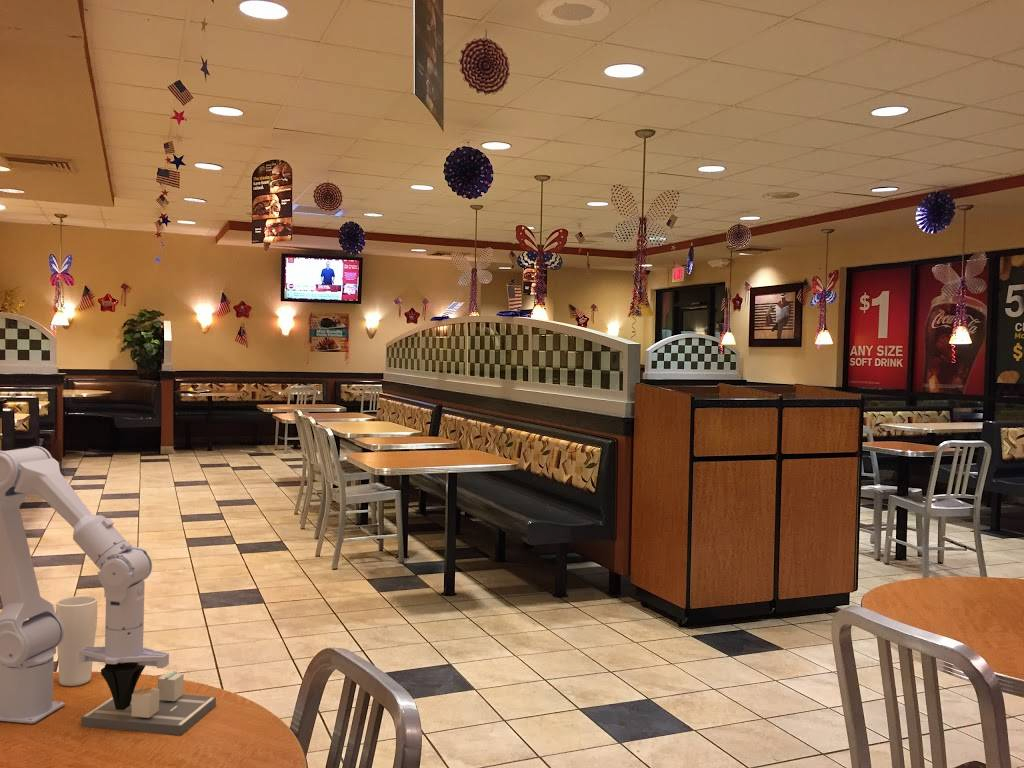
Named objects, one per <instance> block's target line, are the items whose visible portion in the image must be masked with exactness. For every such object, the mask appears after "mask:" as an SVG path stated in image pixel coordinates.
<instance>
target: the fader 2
mask: <svg viewBox="0 0 1024 768" xmlns="http://www.w3.org/2000/svg"><path fill="white" fill-rule="evenodd" d="M184 679H185V677H184V673H179V672H178V671H172V672H165V674H162V675H161V676H159V677H158V678H157V689H159V700H166V701H175V700H176V699H178V698H179V697H180V696H182V695H183V694H184Z"/></svg>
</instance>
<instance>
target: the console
mask: <svg viewBox="0 0 1024 768" xmlns="http://www.w3.org/2000/svg"><path fill="white" fill-rule="evenodd" d="M136 691H137V690H135V689H134V692H136ZM134 692H133V693H134ZM216 706H217V697H216V696H210V695H209V696H208V695H196V694H195V695H194V694H184V693H183V695H182V696H180V697H179V698H178V699H176V700H175V701H166V700H159V711H157V712H156V713H155V714H153V715H152V716H151V717H149V718H145V717H134V716H131V712H132V699H131V703H130V706H129V707H127V708H126V709H124V710H116V708H115V704H114V700H113V697H112V696H111V697H110V698H109V699H107V700H105V701H104V702H102V703H101V704H99V705H98V706H96V707H95V708H94V709H92V710H90V711H88V712H87V713H85V714H84V715H82V716H81V717H80V719H81V721H80V727H84V728H94V729H104V730H105V729H107V730H116V731H117V730H118V731H128V732H141V733H150V734H161V735H172V736H173V735H174V736H182V735H183V734H184V733H186V732H187V731H188V730H189V729H190V728H191V727H193V726H194V725H195V724H196V723H197V722H199V721H200V720H201V719H203V717H204V716H206V715H207V714H208V713H209V712H210V711H211V710H212V709H214V708H215V707H216Z"/></svg>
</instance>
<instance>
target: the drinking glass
mask: <svg viewBox="0 0 1024 768" xmlns="http://www.w3.org/2000/svg"><path fill="white" fill-rule="evenodd" d="M55 608H56V609H55V613H56V615H57V616H58V618H59V619H60V620H61V622H62V624H63V627H64V637H63V639H62V641H61V643H60V644H59V645H58V646H57V647H56V651H57V660H58V661H57V662H58V663H57V664H58V682H59V684H60V685H62V686H63V687H77V686H82V685H84V684H87V683H88V682H90V681H91V679H92V676H93V669H92V668H93V661H86V662H79V650H81V649H83V648H85V647H95V644H96V643H95V642H96V641H95V640H96V634H97V626H98V599H97V597H95V596H91V595H74V596H68V597H67V596H66V597H64V598H60V599H59V600H57V601H56V605H55Z"/></svg>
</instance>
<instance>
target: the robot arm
mask: <svg viewBox="0 0 1024 768" xmlns="http://www.w3.org/2000/svg"><path fill="white" fill-rule="evenodd" d="M28 495H34V496H35V495H36V496H39V497H41V498H42V499H43V500H44V501H45V502H46V503H47V504H48V505H49V506H50V507H52V509H53V510H55V511H56V513H57V514H59V516H60V517H62V519H64V521H66V522H67V524H69V525H70V526H71V528H73V532H72V533H73V534H72V540H73V541H74V542H75V543H76V544H77V546H78V547H79V548H80V549H81V550H82V552H84V554H85V555H86V556H87V557H88V558H89V559H90V560H91V561H92V562H93V564H94V565H95V566H96V567H97V568H98V569H99V571H97V579H98V580H99V583H100V585H101V586H102V588H103V590H104V595H103V596H104V598H105V622H104V623H105V624H104V625H105V627H104V629H105V630H104V631H105V633H104V646H94V647H85V648H83V649H81V650H79V662H86V661H92V663H95V662H97V663H104V664H105V665H104V667H103V668H101V669H100V674H101V676H102V678H103V679H104V680H105V682H106V684H107V686H108V688H109V690H110V693H111V697H113V700H114V704H115V708H116V710H124V709H126V708H127V707H129V706H130V703H131V699H132V694H133V692H134V690H135V689H136V686H137V683H138V680H139V678H140V676H141V674H142V673H143V671H144V670H145V668H146V666H147V667H156V669H164V668H166V667H167V666H168V665H169V663H170V653H169V652H162V651H158V650H156V649H155V650H154V649H152V648H151V649H150V648H148V647H144V627H145V625H144V620H145V585H146V583H145V582H146V581H145V580H146V579H148V578H149V576H150V575H151V572H152V570H153V562H152V559H151V557H150V555H149V554H148V551H147V550H146V549H144V548H142V547H138V546H134V545H133V544H131V543H130V541H127V540H126V539H125V538H124V537H123V536H122V534H121V533H120V532H119V531H118V530H117V528H115V526H113V525H114V521H113V520H112V519H111V518H107V517H106V516H104V515H96V514H92V512H91V511H90V510H89V508H88V507H87V505H86V504H85V503H84V501H83V500H82V499H81V498H80V496H79V495H78V494H77V492H76V491H75V490H74V489H73V487H72V486H71V485H70V483H69V482H68V481H67V479H66V478H65V476H64V475H63V474H62V473H61V468H60V462H58V460H56V459H55V458H54V457H53V456H52V455H51V453H50V451H48V449H46V448H45V447H43V446H37V445H34V446H29V447H26V448H25V447H24V448H18V449H10V450H0V598H1V604H2V609H1V611H0V722H11V723H21V724H23V723H24V724H36V723H38V722H39V721H41V720H42V719H44V718H46V717H47V716H49V715H51V714H52V713H54V712H55V711H57V710H58V709H59V710H60V708H62V707H64V706H65V702H64V701H58V700H57V701H55V700H54V659H55V658H54V655H55V654H56V653H57V646H58V645H59V644H60V643H61V641H62V639H63V637H64V627H63V624H62V622H61V620H60V619H59V618H58V616H57V615H56V609H55V607H54V604H53V603H51V602H50V601H49V600H47V599H45V598H43V597H42V596H41V593H40V589H39V585H38V581H37V580H38V579H37V576H36V572H35V567H34V563H33V559H32V556H31V552H30V546H29V542H28V538H27V535H26V534H27V533H26V530H25V526H24V521H23V517H22V514H21V508H20V507H21V505H22V503H23V502H24V501H25V499H27V496H28Z"/></svg>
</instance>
